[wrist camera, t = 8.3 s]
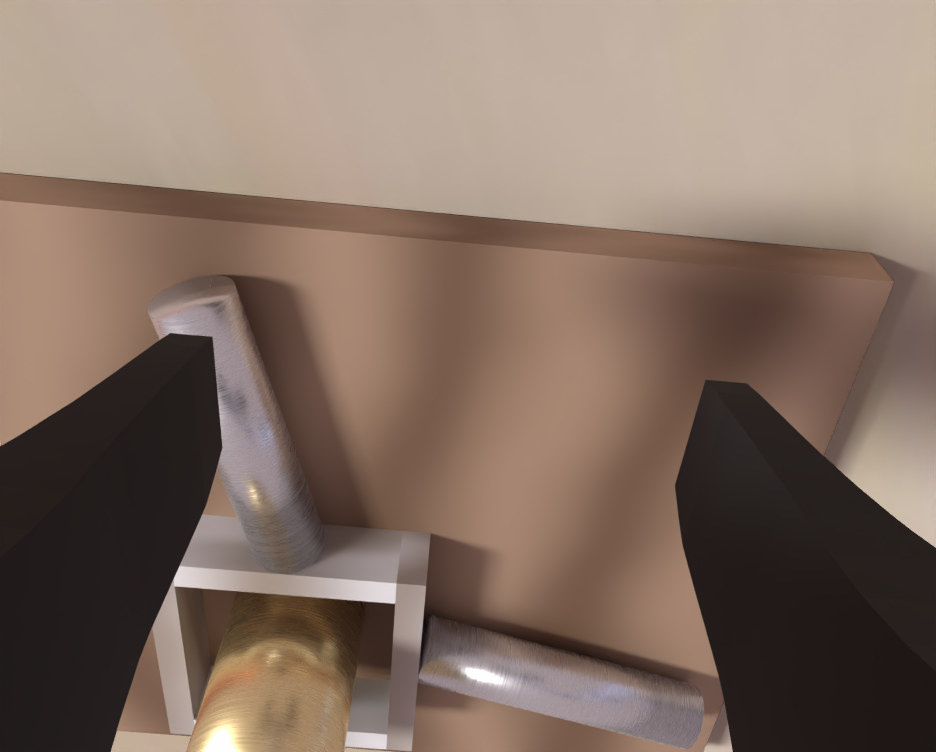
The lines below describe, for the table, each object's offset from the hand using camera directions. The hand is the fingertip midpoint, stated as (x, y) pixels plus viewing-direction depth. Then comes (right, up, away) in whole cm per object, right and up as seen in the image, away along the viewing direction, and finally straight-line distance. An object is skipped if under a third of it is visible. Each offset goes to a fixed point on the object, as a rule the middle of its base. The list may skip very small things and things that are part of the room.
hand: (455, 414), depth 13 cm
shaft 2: (+3, -8, +15) cm, 18 cm away
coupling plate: (-2, -4, +14) cm, 15 cm away
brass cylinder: (-5, -7, +14) cm, 16 cm away
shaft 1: (-5, 0, +10) cm, 11 cm away
